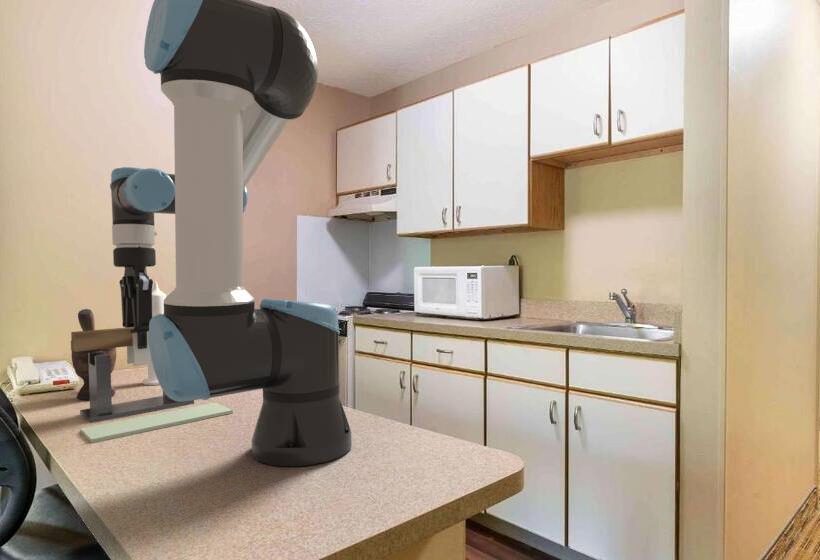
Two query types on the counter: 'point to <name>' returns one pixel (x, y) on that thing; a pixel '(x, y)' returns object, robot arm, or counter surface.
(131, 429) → the mat
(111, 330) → the rail
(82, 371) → the mortar and pestle
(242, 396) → the counter surface
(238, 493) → the counter surface
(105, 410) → the rack
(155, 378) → the candle
